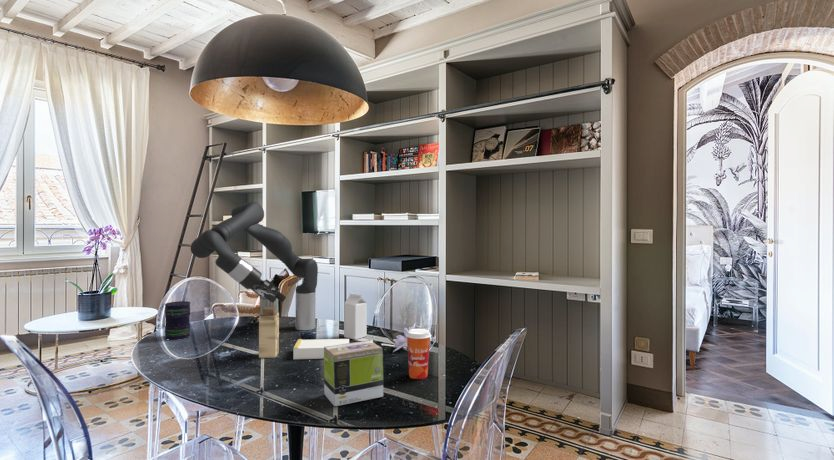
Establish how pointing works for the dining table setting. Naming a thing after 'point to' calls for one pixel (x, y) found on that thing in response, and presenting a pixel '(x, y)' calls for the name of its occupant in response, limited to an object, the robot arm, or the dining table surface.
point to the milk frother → (267, 303)
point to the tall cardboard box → (268, 336)
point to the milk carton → (355, 317)
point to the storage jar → (177, 320)
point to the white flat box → (314, 348)
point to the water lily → (402, 338)
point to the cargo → (269, 311)
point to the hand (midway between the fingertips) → (279, 300)
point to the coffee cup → (418, 352)
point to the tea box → (353, 372)
